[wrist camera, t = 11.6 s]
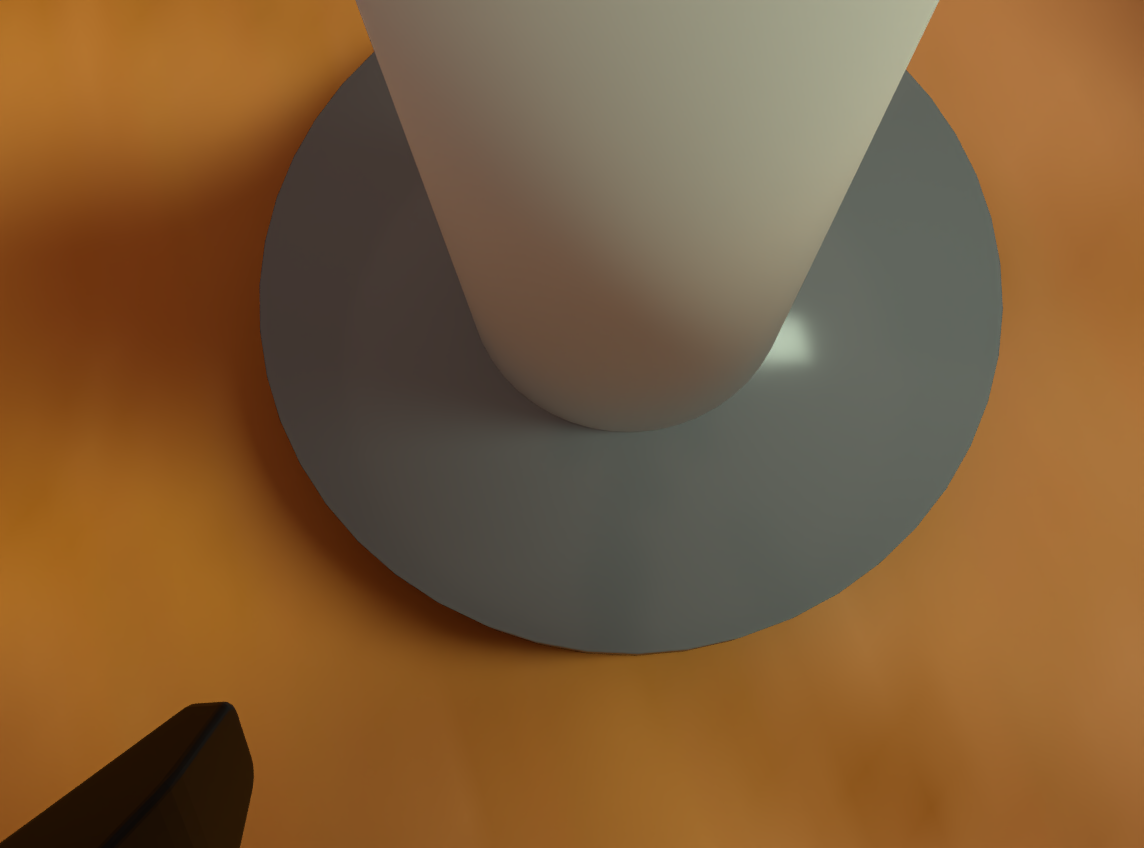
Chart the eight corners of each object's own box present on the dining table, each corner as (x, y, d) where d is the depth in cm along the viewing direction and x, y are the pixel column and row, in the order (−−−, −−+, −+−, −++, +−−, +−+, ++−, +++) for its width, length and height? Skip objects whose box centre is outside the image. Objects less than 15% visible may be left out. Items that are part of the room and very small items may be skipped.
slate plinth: (844, 769, 19) (870, 779, 17) (176, 501, 21) (132, 483, 19) (1046, 131, 22) (1088, 78, 20) (447, -60, 24) (433, -125, 22)
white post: (636, 499, 19) (692, 109, 6) (403, 286, 20) (44, -415, 7) (853, 270, 20) (1295, -486, 7) (619, 78, 21) (634, -867, 8)
